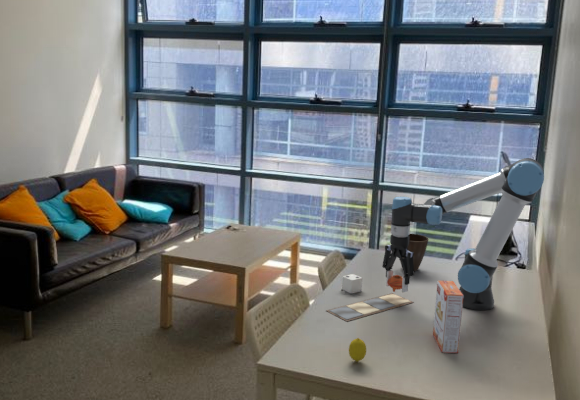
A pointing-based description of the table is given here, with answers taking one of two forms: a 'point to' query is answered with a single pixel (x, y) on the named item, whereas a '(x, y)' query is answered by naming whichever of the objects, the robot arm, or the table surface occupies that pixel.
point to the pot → (395, 282)
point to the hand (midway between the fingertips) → (396, 288)
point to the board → (369, 307)
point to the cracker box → (448, 316)
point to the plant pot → (417, 248)
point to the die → (352, 283)
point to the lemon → (357, 349)
